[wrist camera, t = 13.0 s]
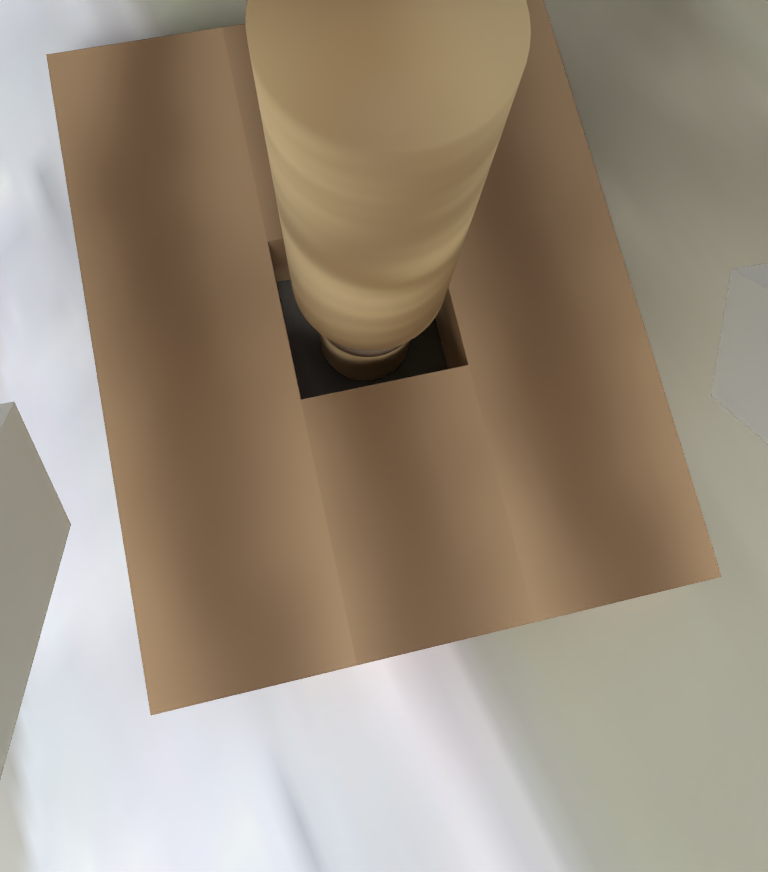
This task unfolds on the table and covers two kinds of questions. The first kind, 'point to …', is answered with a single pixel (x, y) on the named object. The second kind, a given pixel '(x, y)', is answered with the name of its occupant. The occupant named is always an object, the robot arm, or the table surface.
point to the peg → (380, 153)
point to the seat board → (356, 393)
